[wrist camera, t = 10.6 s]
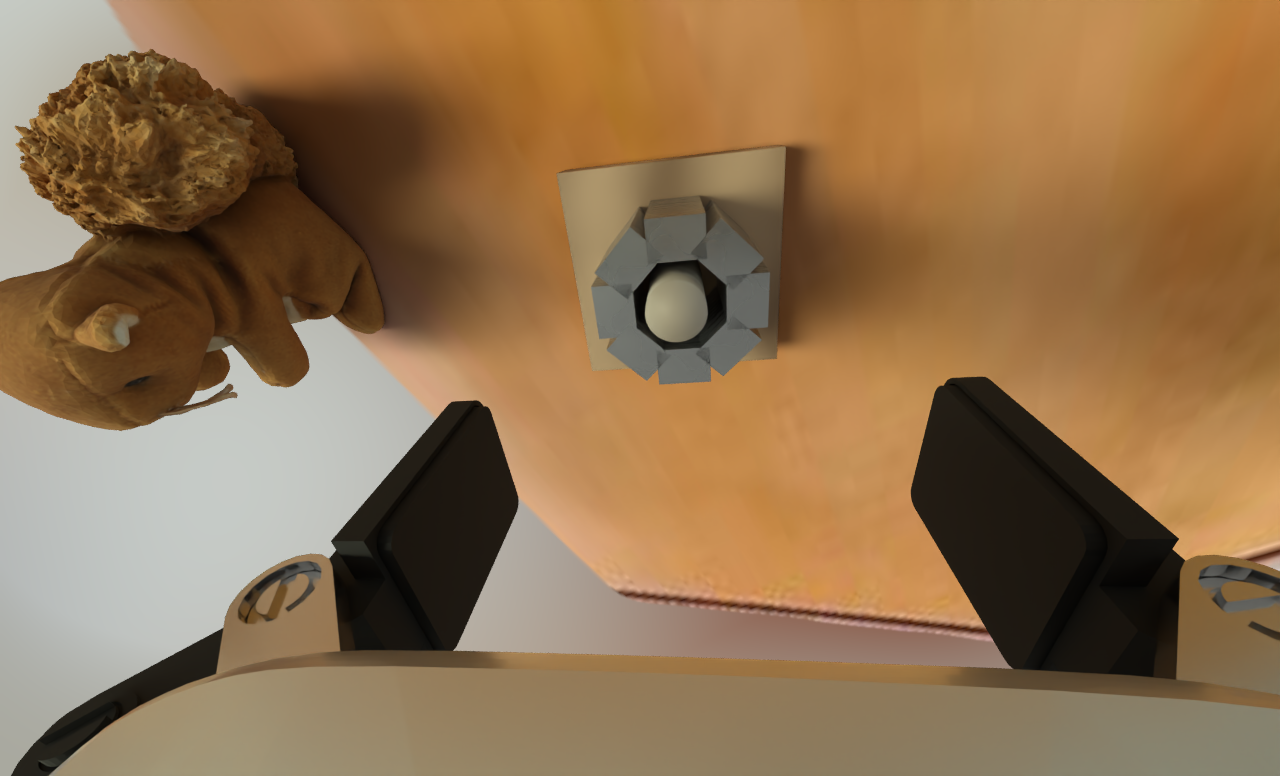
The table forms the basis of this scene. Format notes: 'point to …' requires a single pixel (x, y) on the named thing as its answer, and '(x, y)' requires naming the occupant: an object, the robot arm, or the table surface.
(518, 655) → the robot arm
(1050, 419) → the table surface
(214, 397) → the stuffed squirrel
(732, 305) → the hub
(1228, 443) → the table surface
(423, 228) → the table surface
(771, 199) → the shaft stand
